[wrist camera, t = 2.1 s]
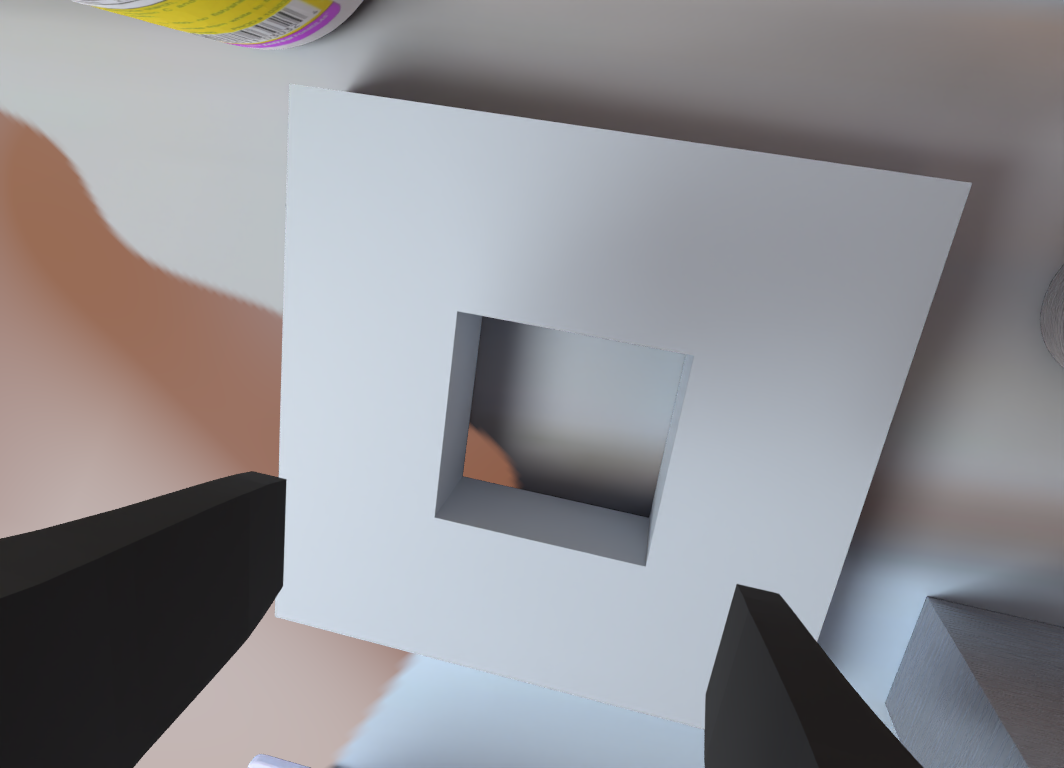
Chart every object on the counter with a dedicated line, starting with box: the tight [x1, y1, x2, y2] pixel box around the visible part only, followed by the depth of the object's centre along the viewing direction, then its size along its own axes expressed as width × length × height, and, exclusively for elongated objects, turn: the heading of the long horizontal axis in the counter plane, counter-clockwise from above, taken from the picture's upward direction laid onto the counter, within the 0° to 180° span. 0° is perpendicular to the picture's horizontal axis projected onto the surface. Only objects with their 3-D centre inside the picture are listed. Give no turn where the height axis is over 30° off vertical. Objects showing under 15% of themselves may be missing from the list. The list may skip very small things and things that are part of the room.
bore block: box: [275, 83, 972, 730], centre depth 17 cm, size 14×14×2 cm
